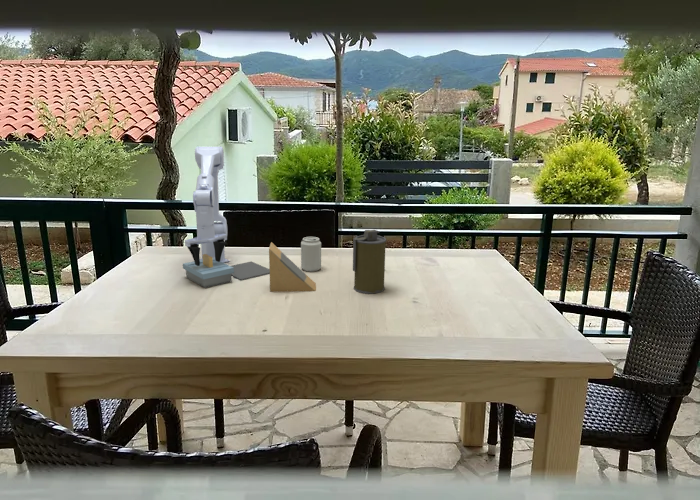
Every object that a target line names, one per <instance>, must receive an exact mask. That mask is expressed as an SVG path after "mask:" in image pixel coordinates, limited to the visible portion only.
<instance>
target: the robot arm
mask: <svg viewBox="0 0 700 500" xmlns="http://www.w3.org/2000/svg"><path fill="white" fill-rule="evenodd" d="M194 158H195V159H194V160H195V162H196V166H197V167H198V169H200V174H198V175H197V178H196V187H195V190H194V191H193V193H192V202H193V206H194V207H193V208H194V212H195V220H196V221H195V222H196V235H197V236H196V237H191V238H188V239H185V240H184V246H186V247H187V249H188V250H189V252H190V254H191V256H192V259H193V261H194V262H195V265H197V266H200V260H203V256H202V255H203V254H207V255H209V256H211V257H212V258H214V259H215V260H216V261H218V262H220V261H221V262H223V263H225V264H226V263H228V262H230V260H229V259H227V258H226V256H225V255H226V254H225V252H226V251H225V246H226V245H227V244H226V243H227V242H226V241H227V240H228V224H227V222H228V221H227V219H226V217H225V216H223V215H222V214H221V213H220V205H219V203H220V202H219V173H220V171H221V170H222V169H224V166H225V162H224V161H225V156H224V147H223V146H221V145H220V146H218V145H217V146H215V145H214V146H209V145H207V146H202V145H201V146H199V145H197V146H195V149H194ZM199 245H200V247H199ZM200 251H201V254H200ZM200 255H201V258H200Z"/></svg>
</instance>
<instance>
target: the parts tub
mask: <svg viewBox="0 0 700 500" xmlns="http://www.w3.org/2000/svg"><path fill="white" fill-rule="evenodd" d="M185 273H186V274H185V276H186V279H189V280H190V281H192V282H194V283H195V284H197V285H199V286H201V287H203V288H205V289H206V288H210V287H215V286H219V285H223V284H228V283H231V282H232V281H233V280H232V276H231V274H226V275H221V276H217V277H212V278H208V279H201V278H200V277H198V276H196V275H194V274H192V273H190V272H189V271H187V270H185Z"/></svg>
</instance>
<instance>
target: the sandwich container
mask: <svg viewBox="0 0 700 500" xmlns="http://www.w3.org/2000/svg"><path fill="white" fill-rule="evenodd" d="M268 259H269V260H268V261H269V262H268V265H269V266H268V267H269V268H268V269H270V274H269V292H274V293H275V292H280V293H281V292H283V293H285V292H288V293H289V292H291V293H292V292H316V291H317V285H316V282H315V280H313V279H312V278H311V277H310V276H308V275H307V274H306V273H305V271H304V270H303V269H302V268H300V267H299V266H297V265H296V264H295V263H294V262H293V260H291V259H290V258H289V257H288V256H287V255H286V254H285V253H284V252H282V250H280V248H278V247H277V246H276V245H275V244H274V243H273V242H272V241H271V242H270V244H269V248H268Z"/></svg>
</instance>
